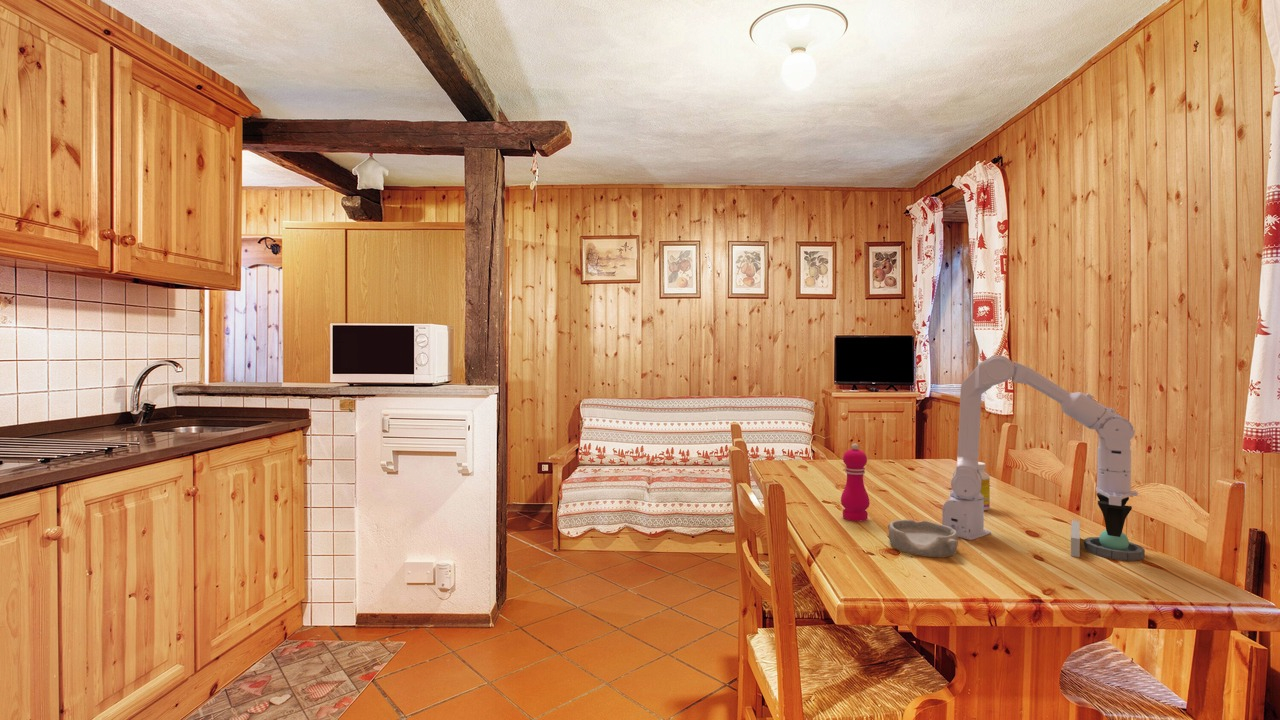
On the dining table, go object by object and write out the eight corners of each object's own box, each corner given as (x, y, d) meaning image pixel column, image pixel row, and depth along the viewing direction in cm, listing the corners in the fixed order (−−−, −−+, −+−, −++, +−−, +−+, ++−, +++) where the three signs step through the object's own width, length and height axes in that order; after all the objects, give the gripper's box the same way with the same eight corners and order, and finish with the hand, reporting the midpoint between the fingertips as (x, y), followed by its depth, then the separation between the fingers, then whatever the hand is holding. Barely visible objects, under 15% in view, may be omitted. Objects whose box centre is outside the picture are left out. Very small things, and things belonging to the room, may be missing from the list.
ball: (1123, 560, 123) (1124, 541, 122) (1095, 551, 127) (1095, 532, 126) (1132, 548, 126) (1133, 529, 124) (1104, 539, 130) (1105, 521, 128)
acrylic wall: (1079, 557, 124) (1079, 539, 124) (1070, 556, 125) (1070, 537, 125) (1079, 537, 136) (1079, 521, 136) (1071, 536, 137) (1071, 519, 137)
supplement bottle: (995, 509, 161) (995, 464, 160) (978, 512, 158) (978, 465, 158) (973, 504, 167) (973, 459, 167) (956, 506, 164) (956, 461, 164)
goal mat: (1133, 564, 120) (1133, 555, 120) (1076, 550, 128) (1076, 542, 128) (1150, 554, 125) (1150, 546, 125) (1095, 542, 133) (1095, 534, 133)
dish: (966, 561, 122) (966, 538, 122) (896, 557, 125) (896, 534, 125) (944, 539, 137) (944, 518, 136) (882, 536, 139) (882, 515, 139)
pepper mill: (835, 515, 156) (834, 442, 156) (857, 513, 159) (857, 440, 158) (852, 523, 149) (852, 446, 149) (875, 520, 152) (875, 444, 151)
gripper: (1140, 478, 118) (1139, 543, 118) (1135, 466, 129) (1134, 526, 130) (1096, 473, 122) (1096, 537, 122) (1095, 462, 134) (1094, 520, 134)
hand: (1113, 531), depth 126 cm, fingers open, 7 cm apart
